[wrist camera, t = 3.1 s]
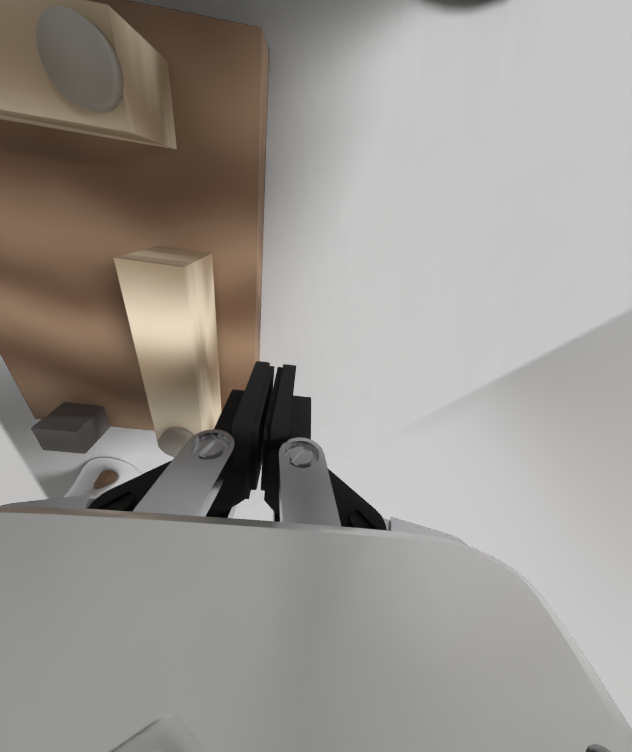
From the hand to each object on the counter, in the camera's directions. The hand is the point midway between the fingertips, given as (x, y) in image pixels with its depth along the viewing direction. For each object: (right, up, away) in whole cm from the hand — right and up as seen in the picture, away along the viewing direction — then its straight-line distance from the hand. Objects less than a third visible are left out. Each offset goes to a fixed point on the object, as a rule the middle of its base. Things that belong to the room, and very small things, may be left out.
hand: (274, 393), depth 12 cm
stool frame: (-11, +7, +7) cm, 15 cm away
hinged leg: (-6, +3, +7) cm, 10 cm away
